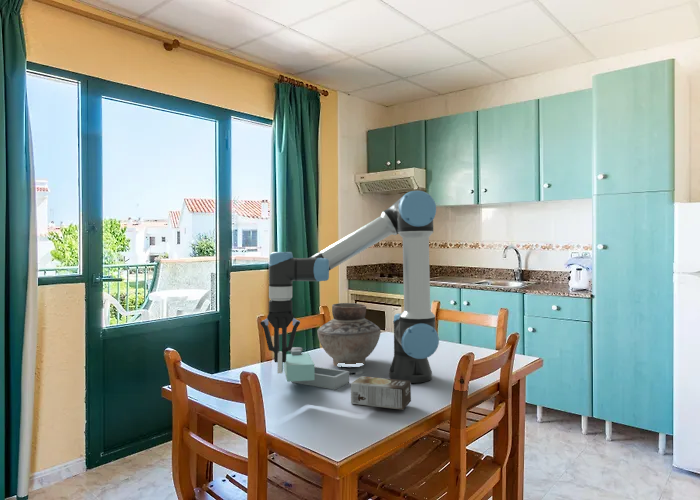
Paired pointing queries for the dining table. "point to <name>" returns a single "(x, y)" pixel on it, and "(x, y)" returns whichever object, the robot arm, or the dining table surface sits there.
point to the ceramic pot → (349, 334)
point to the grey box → (327, 378)
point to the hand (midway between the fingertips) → (280, 372)
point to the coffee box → (381, 392)
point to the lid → (298, 366)
